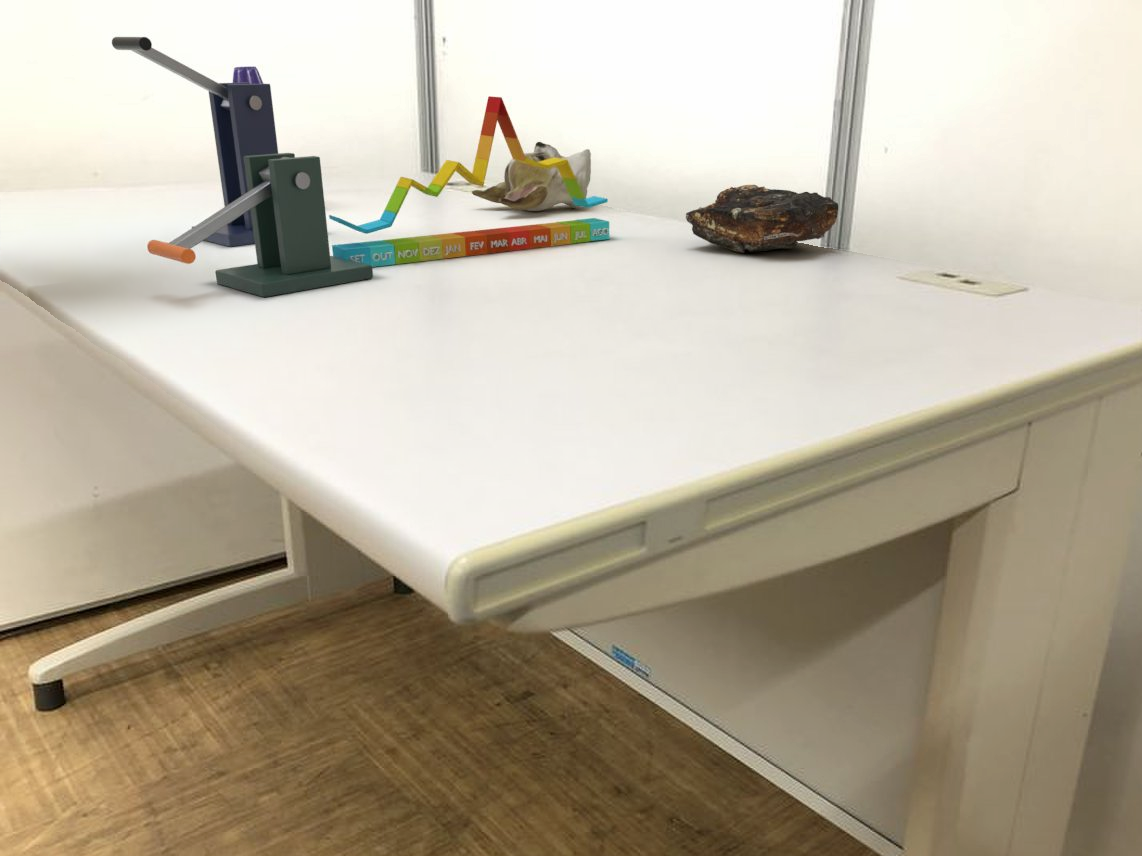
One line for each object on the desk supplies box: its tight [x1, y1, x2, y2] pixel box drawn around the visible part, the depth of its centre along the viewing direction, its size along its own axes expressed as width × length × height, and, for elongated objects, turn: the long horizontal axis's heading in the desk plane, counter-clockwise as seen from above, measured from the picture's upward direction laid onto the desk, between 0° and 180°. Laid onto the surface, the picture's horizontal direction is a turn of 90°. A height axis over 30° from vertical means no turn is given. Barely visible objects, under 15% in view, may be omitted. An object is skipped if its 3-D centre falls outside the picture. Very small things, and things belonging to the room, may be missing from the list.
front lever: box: [146, 157, 288, 265], centre depth 89 cm, size 14×6×2 cm, turn 138°
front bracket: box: [214, 152, 374, 298], centre depth 93 cm, size 11×8×11 cm
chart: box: [328, 96, 610, 268], centre depth 107 cm, size 30×3×15 cm, turn 126°
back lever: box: [111, 36, 230, 111], centre depth 107 cm, size 14×6×2 cm, turn 138°
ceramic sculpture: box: [471, 141, 592, 212], centre depth 135 cm, size 11×9×15 cm
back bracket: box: [191, 82, 279, 248], centre depth 114 cm, size 11×8×16 cm
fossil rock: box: [685, 184, 839, 254], centre depth 112 cm, size 14×14×6 cm
